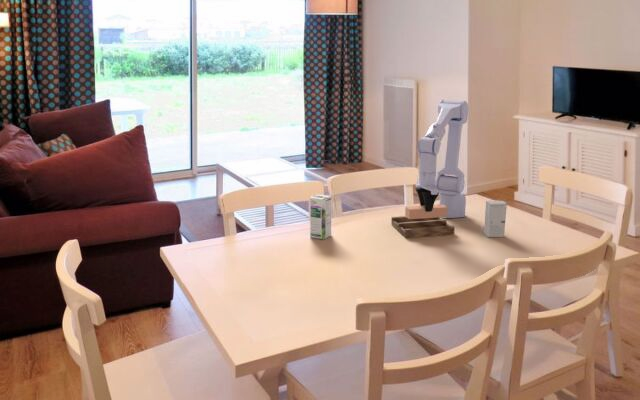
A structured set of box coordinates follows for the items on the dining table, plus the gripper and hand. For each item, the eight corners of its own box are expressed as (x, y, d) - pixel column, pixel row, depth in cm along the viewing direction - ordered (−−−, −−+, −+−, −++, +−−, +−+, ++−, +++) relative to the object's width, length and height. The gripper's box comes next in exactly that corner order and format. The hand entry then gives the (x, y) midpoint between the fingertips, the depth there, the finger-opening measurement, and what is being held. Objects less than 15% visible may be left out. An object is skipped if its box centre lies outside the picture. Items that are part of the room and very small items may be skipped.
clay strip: (442, 213, 234) (443, 204, 233) (446, 216, 230) (447, 207, 229) (405, 216, 231) (405, 206, 230) (409, 219, 227) (409, 209, 226)
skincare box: (488, 237, 226) (490, 204, 222) (483, 233, 230) (485, 200, 227) (505, 236, 226) (507, 203, 223) (499, 232, 231) (502, 199, 228)
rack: (437, 221, 244) (437, 213, 243) (454, 234, 230) (454, 226, 229) (391, 224, 241) (391, 217, 240) (405, 238, 226) (405, 229, 225)
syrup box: (309, 237, 227) (309, 197, 224) (317, 232, 232) (317, 193, 229) (324, 240, 225) (323, 199, 221) (332, 235, 230) (331, 195, 226)
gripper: (409, 167, 232) (408, 204, 236) (424, 177, 218) (422, 216, 222) (428, 166, 233) (427, 203, 237) (444, 175, 220) (442, 214, 223)
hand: (426, 209), depth 230 cm, fingers closed on clay strip, 4 cm apart
